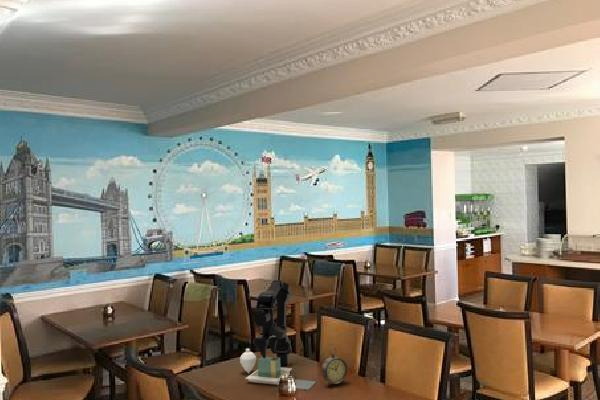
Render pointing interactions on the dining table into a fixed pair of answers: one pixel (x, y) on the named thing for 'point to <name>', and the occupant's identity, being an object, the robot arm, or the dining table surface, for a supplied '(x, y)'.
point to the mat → (304, 384)
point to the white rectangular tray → (255, 378)
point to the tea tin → (269, 367)
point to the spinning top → (248, 360)
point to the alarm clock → (334, 369)
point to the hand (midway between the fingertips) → (268, 355)
